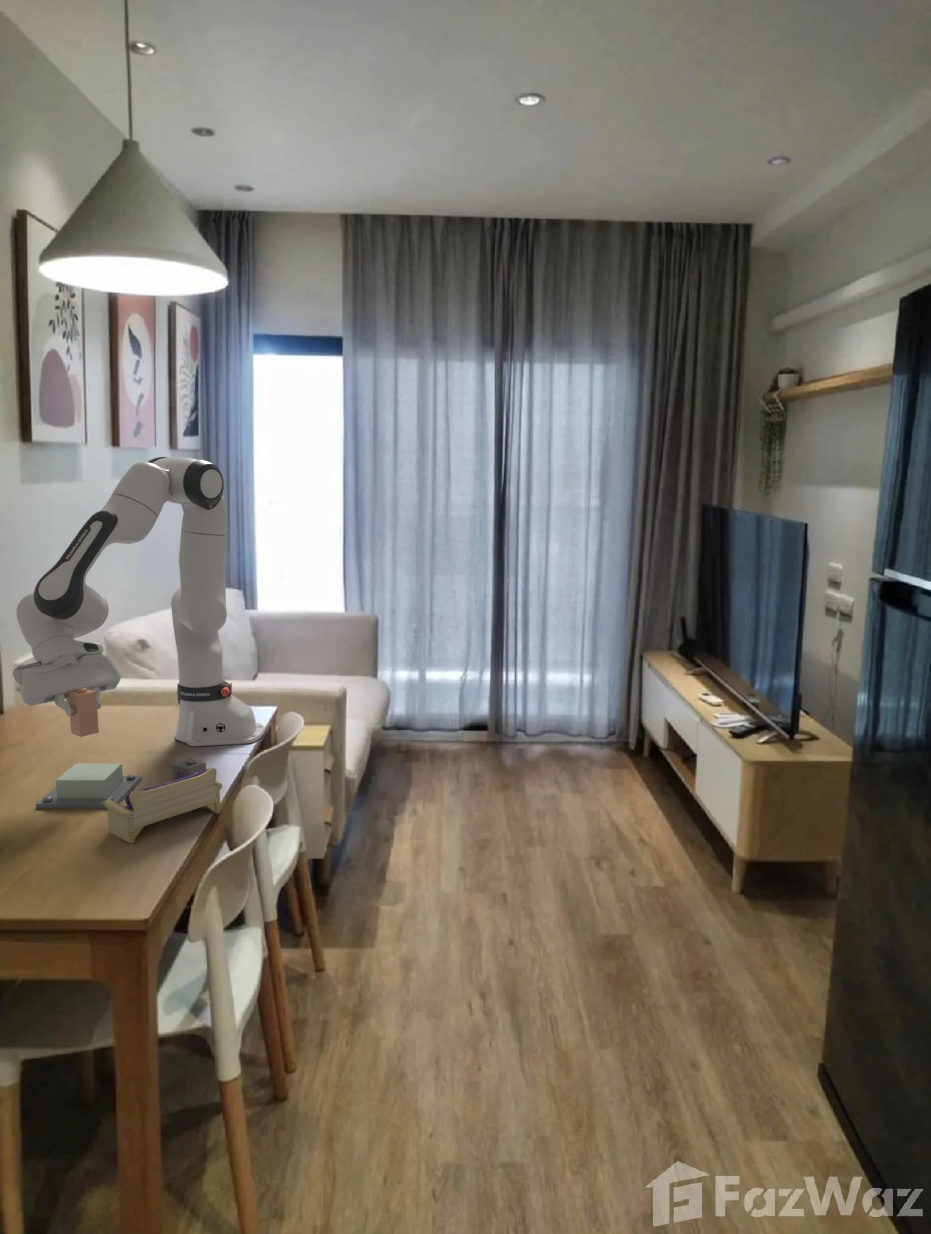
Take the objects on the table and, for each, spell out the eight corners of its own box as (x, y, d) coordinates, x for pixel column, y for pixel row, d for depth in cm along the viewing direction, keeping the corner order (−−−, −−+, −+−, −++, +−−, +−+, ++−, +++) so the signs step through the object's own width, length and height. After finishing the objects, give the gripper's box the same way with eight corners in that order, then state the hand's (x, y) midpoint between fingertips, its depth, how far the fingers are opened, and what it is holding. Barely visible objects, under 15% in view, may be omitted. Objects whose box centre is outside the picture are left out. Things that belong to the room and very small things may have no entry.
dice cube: (189, 791, 187) (188, 769, 186) (173, 786, 189) (172, 765, 189) (206, 783, 191) (205, 762, 190) (190, 779, 194) (189, 758, 193)
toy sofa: (199, 801, 182) (197, 755, 180) (224, 812, 176) (222, 765, 174) (105, 833, 166) (101, 783, 164) (128, 847, 160) (125, 795, 158)
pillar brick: (89, 728, 185) (86, 685, 183) (98, 732, 183) (96, 688, 181) (71, 733, 182) (68, 689, 180) (80, 737, 180) (77, 692, 178)
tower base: (141, 780, 193) (140, 759, 192) (114, 808, 177) (113, 785, 176) (69, 780, 192) (68, 758, 191) (36, 808, 177) (34, 785, 176)
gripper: (13, 658, 176) (39, 713, 171) (108, 643, 191) (134, 693, 187) (5, 675, 179) (30, 730, 175) (99, 659, 195) (124, 709, 191)
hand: (85, 711), depth 181 cm, fingers closed on pillar brick, 4 cm apart
